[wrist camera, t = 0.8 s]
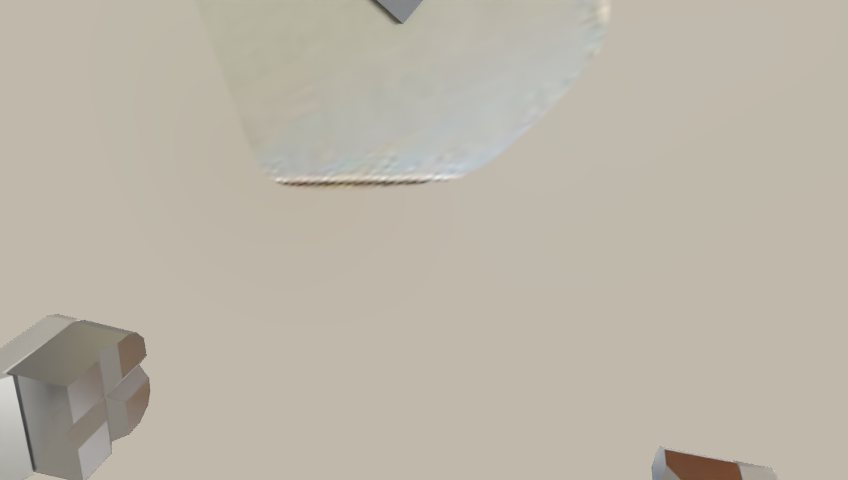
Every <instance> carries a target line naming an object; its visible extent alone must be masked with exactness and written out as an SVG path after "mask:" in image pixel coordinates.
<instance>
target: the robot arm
mask: <svg viewBox="0 0 848 480" xmlns="http://www.w3.org/2000/svg"><path fill="white" fill-rule="evenodd" d="M145 357H146V349H145V343H144V338H143V337H142V336H140V335H139V334H138V333H136V332H131V331H127V330H123V329H119V328H115V327H111V326H107V325H102V324H99V323H94V322H90V321H86V320H80V319H76V318H72V317H68V316H63V315H59V314H56V315H49V316H46V317H45V318H43V319H42V320H40V321H39V322H37V323H36V324H35V325H33V326H32V327H30V328H29V329H27V330H26V331H25V332H23V333H22V334H20V335H19V336H17V337H16V338H15V339H13V340H12V341H10V342H9V343H7V344H6V345H5V346H3V347H2V348H0V480H24V479H26V478H28V477H30V476H32V475H33V472H37V473H42V474H46V475H50V476H55V477H59V478H64V479H68V480H87V479H88V478H89V477H90V476H91V475H92V474H93V473H94V472H95V471H96V469H97V468H98V467H99V466H100V465H101V464H102V463H103V462H104V461H105V460H106V459H107V458H108V457H109V456H110V455H111V453H112V446H111V445H112V441H114V440H117V439H119V438H121V437H124V436H126V435H129V434H130V433H131V431H133V429H134V428H135V427H136V426H137V425H138V424H139V423H140V421H141V419H142V417H143V415H144V412H145V410H146V408H147V406H148V402H149V395H150V384H149V377H148V376H147V375H146V373H145V372H144V371H143V369H142V368H141V367H140V365H139V364H140V363H141V362H142V360H143V359H144V358H145ZM652 477H653V480H779V478H778V475H777V473H776V472H775V471H774V470H773V469H772V468H768V467H764V466H759V465H753V464H748V463H743V462H738V461H733V462H731V461H727V460H723V459H718V458H713V457H708V456H703V455H699V454H694V453H689V452H685V451H680V450H675V449H670V448H666V447H661V446H660V447H659V449H658V451H657V453H656V455H655V458H654V462H653V465H652Z"/></svg>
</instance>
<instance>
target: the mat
mask: <svg viewBox="0 0 848 480" xmlns="http://www.w3.org/2000/svg"><path fill="white" fill-rule="evenodd" d="M377 1H378V2H379V3H380V4H381V5H383V6H384V7H385V8H386V9H387V10H388V11H389V12H390V13H391V14H393V15H394V16H395V17H396V18H397V19H398V20H399V21H400V22H401V23H404V22H405V21H406V20H407V18H408V17H409V16H410V15H411V14H412V12H413V11H414V10H415V9H416V8H417V6H418V5H419V4H420V3H421V1H422V0H377Z"/></svg>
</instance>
